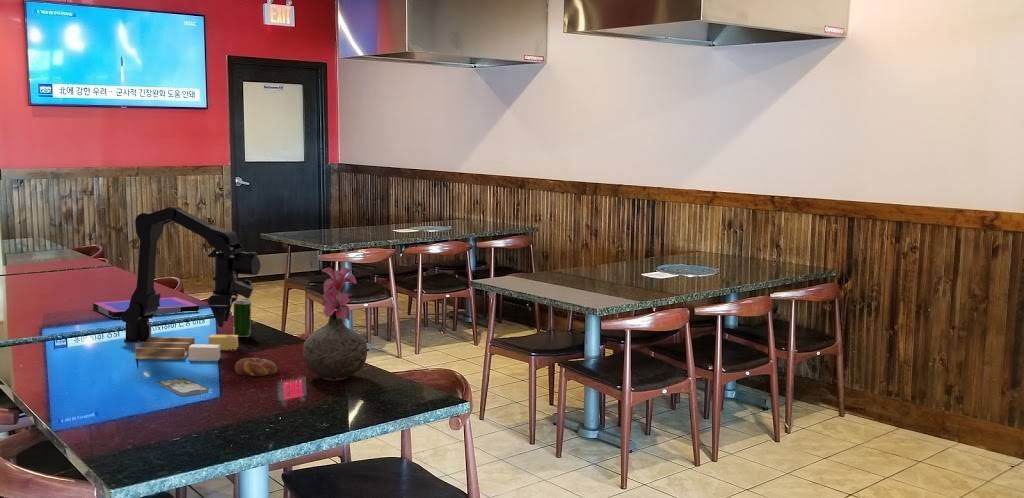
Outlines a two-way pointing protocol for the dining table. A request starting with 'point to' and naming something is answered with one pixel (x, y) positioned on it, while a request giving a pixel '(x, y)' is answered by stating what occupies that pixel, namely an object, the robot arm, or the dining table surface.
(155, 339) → the comb board
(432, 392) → the dining table surface
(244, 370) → the pretzel
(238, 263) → the robot arm
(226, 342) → the ochre bar
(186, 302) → the book
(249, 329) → the beer can
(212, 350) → the cream bar
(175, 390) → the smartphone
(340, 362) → the vase
